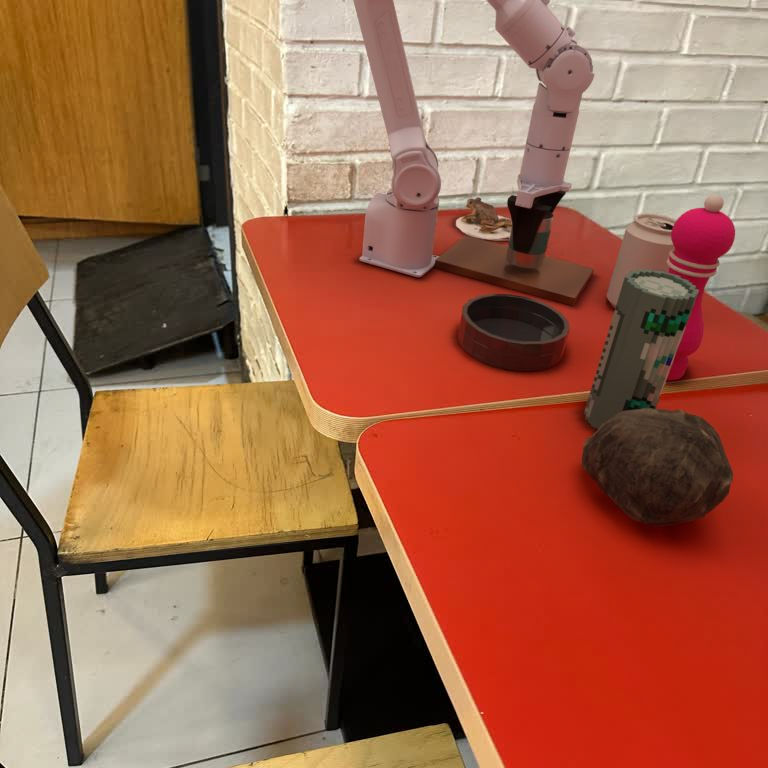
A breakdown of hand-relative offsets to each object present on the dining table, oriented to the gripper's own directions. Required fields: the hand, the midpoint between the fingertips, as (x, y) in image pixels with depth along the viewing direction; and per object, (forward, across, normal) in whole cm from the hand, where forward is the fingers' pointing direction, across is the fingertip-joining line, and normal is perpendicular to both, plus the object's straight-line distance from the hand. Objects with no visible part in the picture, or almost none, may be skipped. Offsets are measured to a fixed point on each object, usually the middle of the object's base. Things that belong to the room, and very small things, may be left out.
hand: (527, 244), depth 96 cm
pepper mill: (+5, -16, -21) cm, 27 cm away
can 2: (+5, -30, -19) cm, 36 cm away
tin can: (+2, 0, 0) cm, 2 cm away
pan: (+4, -21, -5) cm, 22 cm away
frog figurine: (+5, +15, +10) cm, 19 cm away
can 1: (+5, -1, -16) cm, 17 cm away
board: (+4, 0, +1) cm, 5 cm away
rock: (+5, -41, -23) cm, 47 cm away
